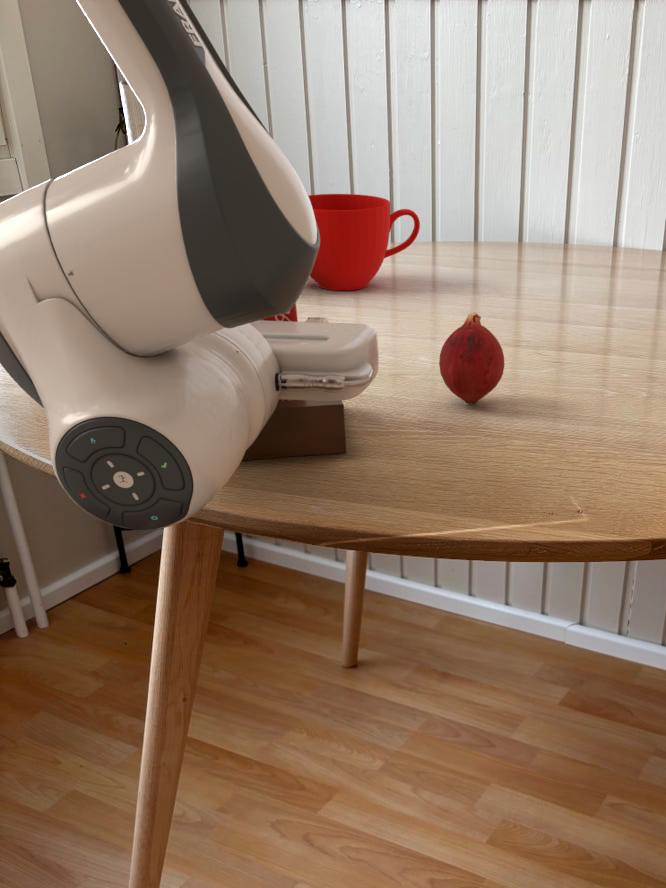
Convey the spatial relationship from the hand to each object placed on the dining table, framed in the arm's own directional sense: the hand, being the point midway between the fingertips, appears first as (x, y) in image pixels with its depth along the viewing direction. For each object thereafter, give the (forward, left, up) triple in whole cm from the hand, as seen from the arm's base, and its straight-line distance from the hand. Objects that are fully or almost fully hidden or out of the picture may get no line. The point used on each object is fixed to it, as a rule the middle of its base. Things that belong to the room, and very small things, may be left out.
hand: (259, 325), depth 73 cm
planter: (-7, +54, -9) cm, 56 cm away
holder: (0, 0, -9) cm, 9 cm away
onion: (+18, +4, -9) cm, 21 cm away
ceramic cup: (+14, +52, -9) cm, 55 cm away
